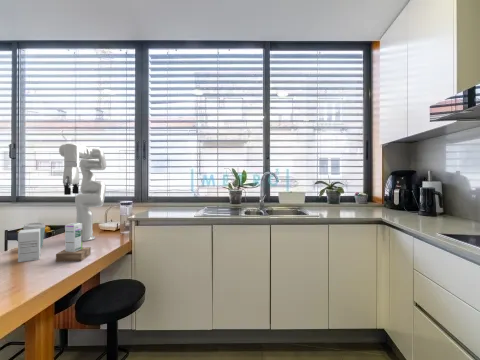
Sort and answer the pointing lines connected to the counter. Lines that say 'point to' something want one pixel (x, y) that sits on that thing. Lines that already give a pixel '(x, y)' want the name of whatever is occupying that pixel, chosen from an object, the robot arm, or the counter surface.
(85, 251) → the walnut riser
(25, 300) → the counter surface
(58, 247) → the counter surface
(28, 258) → the supplement box
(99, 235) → the counter surface
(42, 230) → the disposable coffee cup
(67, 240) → the syrup box
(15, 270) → the counter surface
